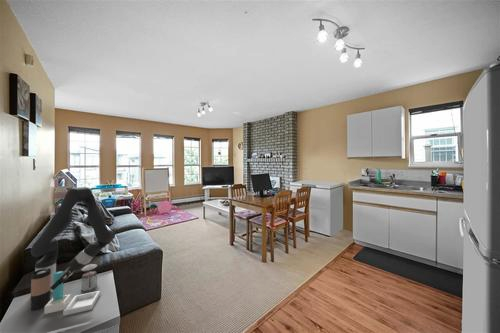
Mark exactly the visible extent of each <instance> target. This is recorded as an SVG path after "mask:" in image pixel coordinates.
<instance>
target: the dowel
mask: <svg viewBox="0 0 500 333" xmlns="http://www.w3.org/2000/svg"><path fill="white" fill-rule="evenodd" d="M63 273H64V271H63V270H62V271H60V270H59V271H56V273H54V274H53V284H54V283H55V282H56V281H57V280H58V279H59V278H60V276H61V275H62V274H63ZM63 295H64V282H62V284H60V285H58V286H57V287H56V288H55V289H54V290H53V292H52V298H53V301H57V300H60V299H62V298H63Z"/></svg>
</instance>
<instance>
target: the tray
mask: <svg viewBox="0 0 500 333" xmlns="http://www.w3.org/2000/svg"><path fill="white" fill-rule="evenodd" d="M100 295H101V290H97V291H91V292H85V293H82V294H77V295H74V296H73V298H71V302H70V303H69V304H68V305H67V307H66V308H65V309H64V310H62V313H63V314H62V315H63V317H65V316H70V315H73V314H77V313H83V312H86V311H90V310H93V308H94V306H95V305H96V303H97V301H98V300H99V297H100Z"/></svg>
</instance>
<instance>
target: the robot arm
mask: <svg viewBox="0 0 500 333" xmlns="http://www.w3.org/2000/svg"><path fill="white" fill-rule="evenodd" d="M77 203H85V205H86V206H87V221H88V223H89V224H90V226H91V227H92V229H93V234H94V236H95V238H96V240H95V241H92V242H90V243H89V244H87V246H86V247H85V248H83V250H81V251H79V253H77V255H75V256H74V257H73V258H72V259H71V260H70V261H69V262H68V267H67V268H66V270H64V271H63V274H62V275H61V276H60V278H59V279H58V280H57V281H56V282H55V283H54V284H53V274H54V273H56V272H57V260H58V254H59V242H58V240H57V239H56V237H58V236H59V235H61V234H62V233H63V232H64V231H66V230H67V228H68V227H69V225H70V224H71V223H72V221H73V217H74V216H73V208H74V207H75V205H76V204H77ZM115 237H116V232H115V231H114V230H111V229H108V228H107V221H106V220H105V218H104V216H103V215H102V213H101V211H100V209H99V207H98V204H97V202H96V198H95V196H94V193H93V192H92V189H91V188H90V187H87V186H82V187H78V186H77V187H72V188H70V189H69V190H68V191H67V192H66V193H65V195H64V198H63V200H62V202H61V203H60V206H59V207H58V209H57V210H56V212H55V214H54V215H53V217H52V218H51V219H50V221H49V223H48V224H47V226H46V227H45V229H44V231H43V232H42V233H41V235H40V236H39V237H38V238H37V239H36V241H35V242H34V243H33V244H32V245H31V249H30V255H31V256H32V257H34V258H39V257H41V258H40V259H39V260H37V261H36V262H35V265H34V272H35V271H38V270H41V269H45V270H47V269H49V268H50V269H51V287H50V289H51V293H52V294H53V290H54V289H55V288H56V287H57V286H58V285H60V284H62V282H63V283H65V281H67V279H68V278H69V277H70V276H73V274H74V273H75V272H79V271H82V270H81V269H82V268H83V267H85V266H87V265H88V264H89V262H90V263H91V261H92V260H93V258H95V257H96V255H97V254H99V252H100V251H101V250H102V249H104V248H106V246H108V245H109V244H110V243H111V242H113V240H114V239H115ZM51 293H50V294H51Z"/></svg>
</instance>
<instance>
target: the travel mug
mask: <svg viewBox="0 0 500 333" xmlns="http://www.w3.org/2000/svg"><path fill="white" fill-rule="evenodd" d="M30 276H31V277H30V280H31V281H30V309H31V311H38V310H42V309H43V308H45V305H46V304H47V303H48V302H49V301H50V300H51V289H50V287H51V269H50V268H49V269H47V270H45V269H41V270H38V271H35V270H34V271H33V272H31V275H30Z"/></svg>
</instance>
